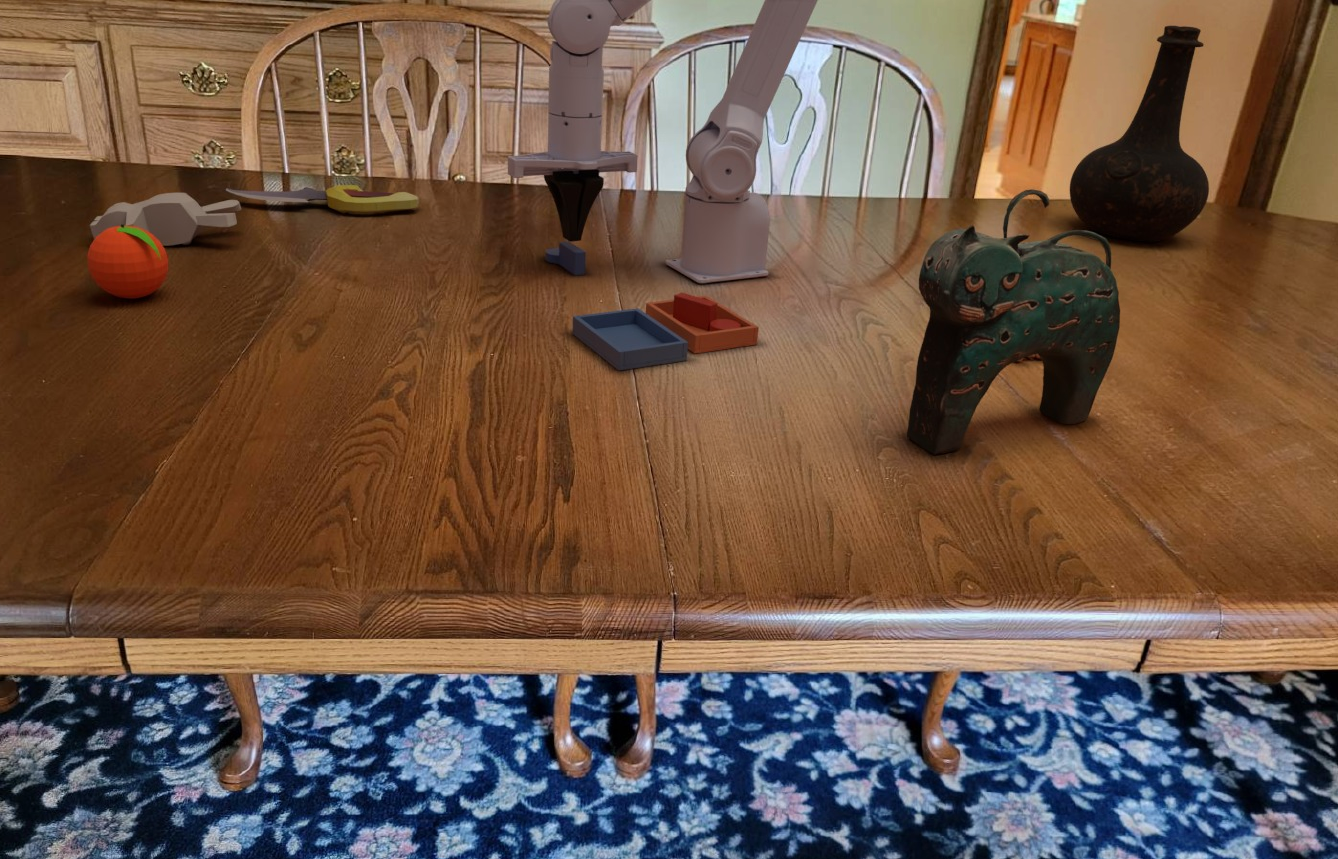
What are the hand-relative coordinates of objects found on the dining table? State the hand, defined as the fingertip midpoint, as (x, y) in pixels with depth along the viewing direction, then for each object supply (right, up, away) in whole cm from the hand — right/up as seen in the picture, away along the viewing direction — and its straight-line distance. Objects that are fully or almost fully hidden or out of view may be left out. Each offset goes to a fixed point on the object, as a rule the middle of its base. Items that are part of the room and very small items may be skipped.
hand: (571, 238), depth 117 cm
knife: (-34, +7, +19) cm, 40 cm away
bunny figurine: (-45, 0, +2) cm, 46 cm away
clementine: (-41, -9, -15) cm, 44 cm away
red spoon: (+14, -11, -14) cm, 23 cm away
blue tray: (+7, -14, -19) cm, 24 cm away
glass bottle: (+76, +7, +33) cm, 84 cm away
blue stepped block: (-1, -3, +3) cm, 4 cm away
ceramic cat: (+38, -21, -31) cm, 53 cm away
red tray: (+14, -12, -14) cm, 23 cm away
